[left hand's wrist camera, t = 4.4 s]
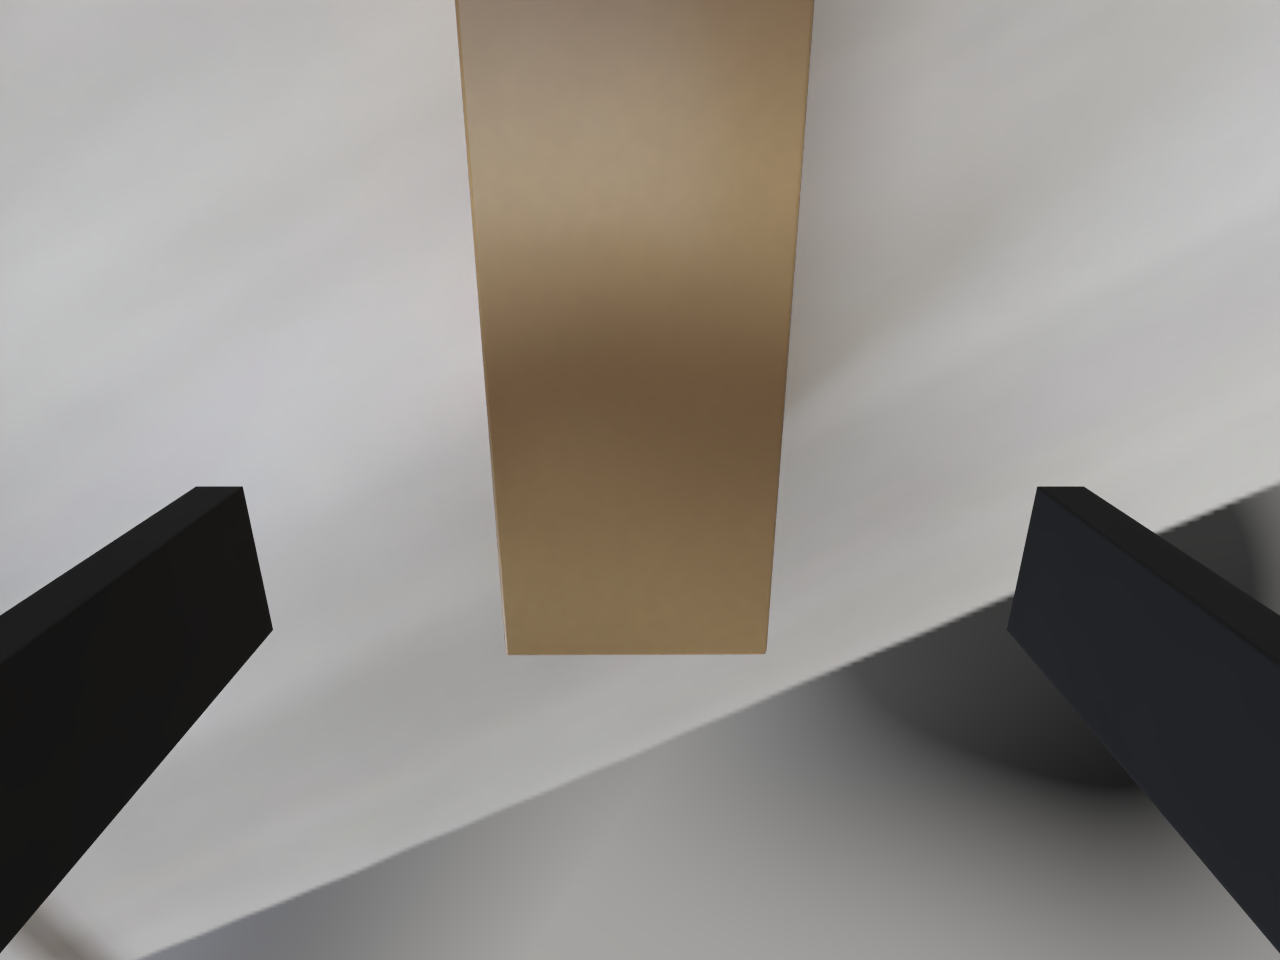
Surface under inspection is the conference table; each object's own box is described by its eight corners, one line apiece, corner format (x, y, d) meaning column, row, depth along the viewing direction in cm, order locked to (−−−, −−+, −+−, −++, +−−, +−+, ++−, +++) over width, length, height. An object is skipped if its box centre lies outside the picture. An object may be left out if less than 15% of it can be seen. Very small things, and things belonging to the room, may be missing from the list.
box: (714, 472, 29) (766, 655, 17) (557, 472, 29) (505, 656, 17) (748, -381, 20) (901, -1166, 8) (519, -382, 20) (361, -1172, 8)
